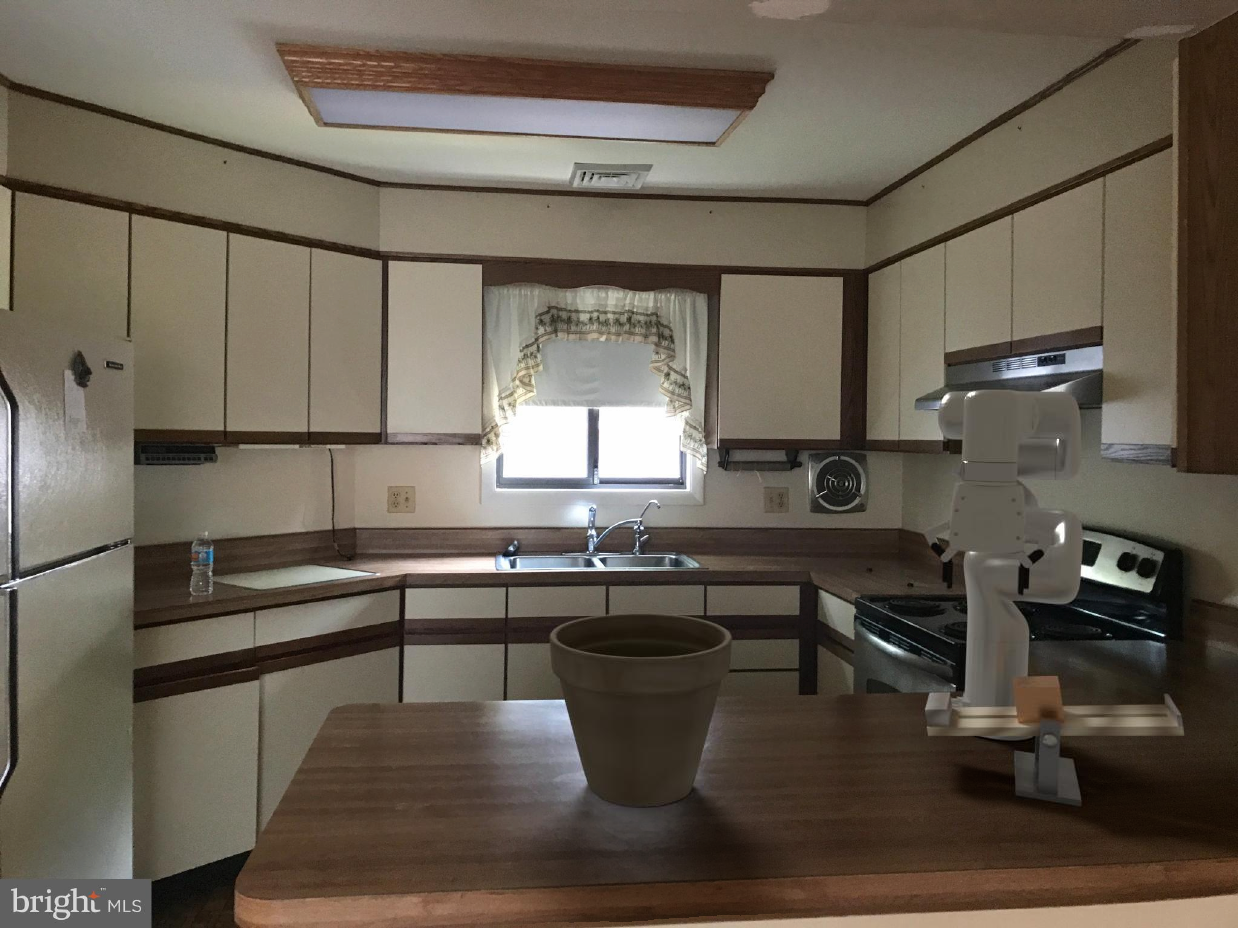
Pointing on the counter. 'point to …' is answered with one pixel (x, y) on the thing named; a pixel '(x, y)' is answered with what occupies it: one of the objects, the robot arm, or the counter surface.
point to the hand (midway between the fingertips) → (984, 590)
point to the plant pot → (640, 700)
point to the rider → (1038, 699)
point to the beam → (1077, 723)
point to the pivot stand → (1047, 769)
